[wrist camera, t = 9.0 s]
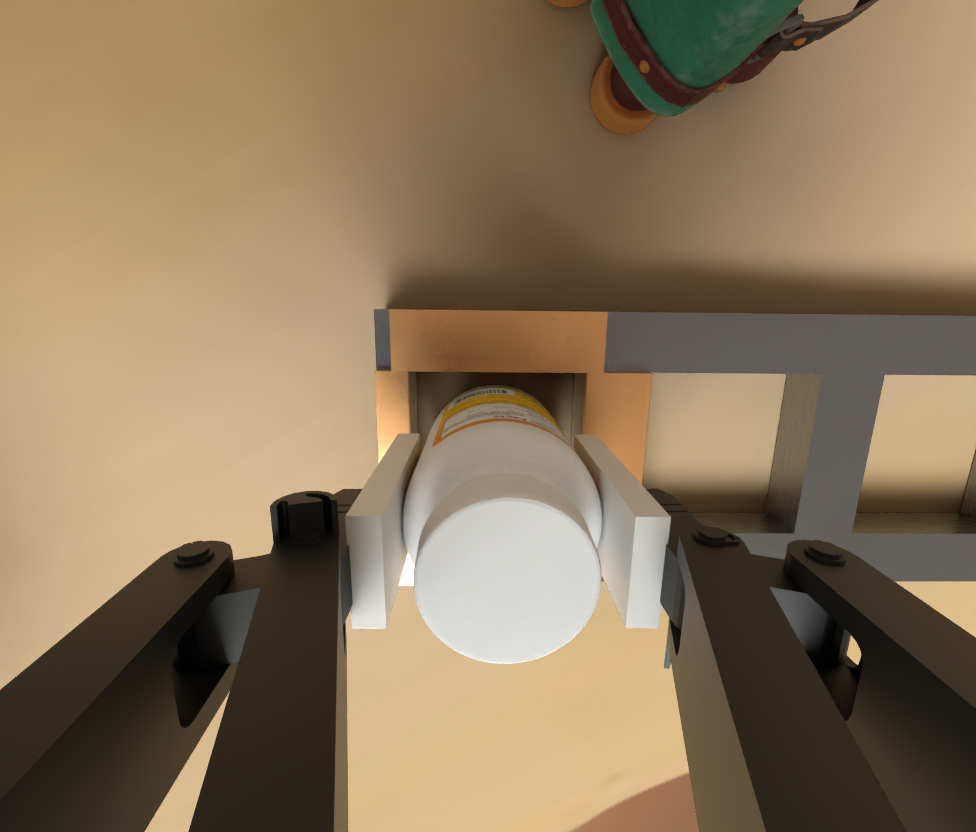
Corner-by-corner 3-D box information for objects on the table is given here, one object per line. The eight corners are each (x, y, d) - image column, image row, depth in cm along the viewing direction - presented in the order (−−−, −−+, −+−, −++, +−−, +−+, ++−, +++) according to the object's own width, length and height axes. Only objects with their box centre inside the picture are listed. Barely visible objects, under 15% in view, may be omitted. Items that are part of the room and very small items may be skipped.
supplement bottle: (507, 532, 20) (531, 734, 11) (402, 461, 19) (327, 611, 10) (586, 434, 19) (691, 559, 10) (480, 355, 18) (480, 408, 9)
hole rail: (394, 556, 21) (384, 585, 19) (385, 308, 19) (372, 309, 16) (973, 556, 22) (1029, 585, 20) (1039, 316, 19) (1113, 317, 17)
